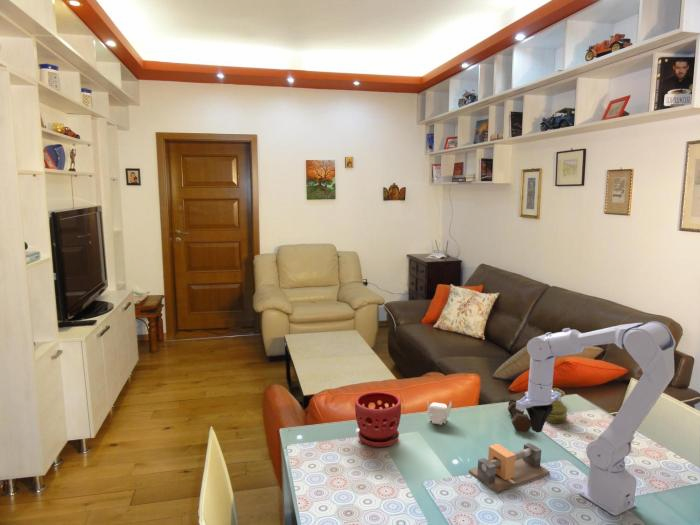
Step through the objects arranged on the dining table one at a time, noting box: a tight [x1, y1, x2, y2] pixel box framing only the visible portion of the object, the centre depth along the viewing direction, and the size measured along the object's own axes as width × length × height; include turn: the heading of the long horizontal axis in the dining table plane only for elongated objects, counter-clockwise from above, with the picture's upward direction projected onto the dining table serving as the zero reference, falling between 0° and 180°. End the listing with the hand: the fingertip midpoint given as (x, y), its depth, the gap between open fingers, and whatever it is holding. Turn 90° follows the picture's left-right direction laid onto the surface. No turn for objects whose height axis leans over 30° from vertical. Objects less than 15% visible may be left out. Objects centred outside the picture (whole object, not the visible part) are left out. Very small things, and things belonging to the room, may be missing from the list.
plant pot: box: [354, 391, 402, 448], centre depth 143 cm, size 13×13×12 cm
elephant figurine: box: [427, 397, 453, 425], centre depth 154 cm, size 8×10×7 cm
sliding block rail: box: [468, 442, 551, 494], centre depth 128 cm, size 10×18×5 cm, turn 119°
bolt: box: [507, 399, 532, 433], centre depth 157 cm, size 6×5×15 cm
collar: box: [487, 443, 516, 480], centre depth 126 cm, size 6×3×6 cm, turn 29°
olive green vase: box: [545, 387, 569, 425], centre depth 157 cm, size 7×8×10 cm
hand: (536, 430), depth 131 cm, fingers closed
